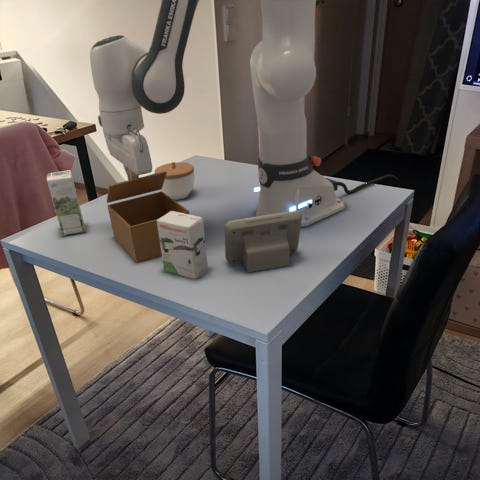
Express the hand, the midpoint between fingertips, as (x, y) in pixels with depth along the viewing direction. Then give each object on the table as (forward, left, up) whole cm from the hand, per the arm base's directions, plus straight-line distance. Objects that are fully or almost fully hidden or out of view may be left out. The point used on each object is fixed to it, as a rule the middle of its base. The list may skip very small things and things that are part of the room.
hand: (134, 183), depth 122 cm
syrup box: (+14, -13, -13) cm, 23 cm away
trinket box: (-17, -18, -12) cm, 27 cm away
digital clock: (-16, +30, -12) cm, 37 cm away
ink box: (-1, +24, -13) cm, 27 cm away
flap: (0, +1, -1) cm, 2 cm away
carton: (0, +6, -12) cm, 14 cm away
